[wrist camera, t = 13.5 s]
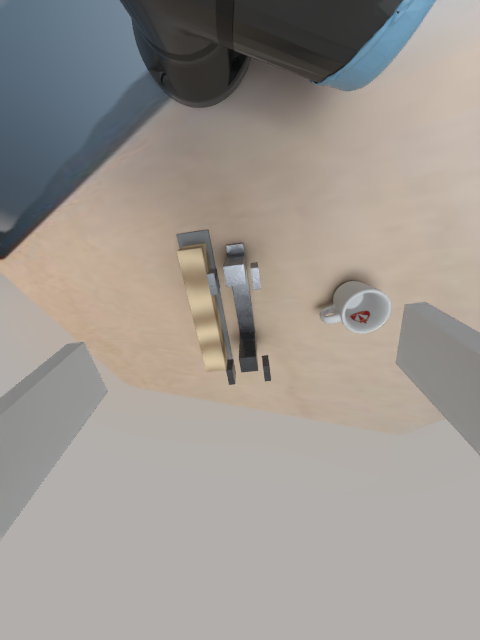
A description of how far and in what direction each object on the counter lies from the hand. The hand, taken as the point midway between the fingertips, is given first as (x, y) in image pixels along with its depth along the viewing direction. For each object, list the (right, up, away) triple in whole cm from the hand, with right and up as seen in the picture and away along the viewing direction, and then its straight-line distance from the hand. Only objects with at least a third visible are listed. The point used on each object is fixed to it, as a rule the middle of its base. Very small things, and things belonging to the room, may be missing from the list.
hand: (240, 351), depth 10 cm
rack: (+1, +5, +38) cm, 39 cm away
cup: (+20, +6, +38) cm, 43 cm away
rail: (-6, +4, +39) cm, 39 cm away
